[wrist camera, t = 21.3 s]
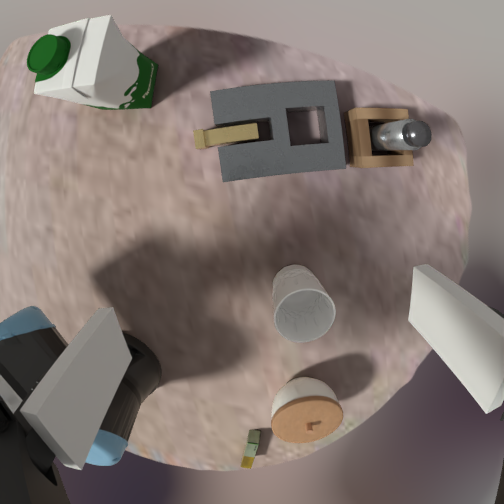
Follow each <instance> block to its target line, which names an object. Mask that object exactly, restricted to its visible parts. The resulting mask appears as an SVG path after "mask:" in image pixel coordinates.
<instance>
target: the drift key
mask: <svg viewBox="0 0 504 504" xmlns="http://www.w3.org/2000/svg"><path fill="white" fill-rule="evenodd" d="M193 132H194V139H195V146H196V149H200V150H201V149H207V148H209V147H210V146H216V145H223V144H229V143H236V142H243V141H251V140H258V139H259V136H258V129H257V123H253V124H245V125H238V126H231V127H224V128H218V129H212V130H206V131H205V130H203V129H200V130H194V131H193Z"/></svg>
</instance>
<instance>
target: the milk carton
mask: <svg viewBox="0 0 504 504" xmlns="http://www.w3.org/2000/svg"><path fill="white" fill-rule="evenodd" d="M27 66H28V69H29V70H30V71H32V72H35V73H37V76H36V80H35V82H36V85H35V89H34V94H39V95H44V96H49V97H54V98H59V99H63V100H67V101H71V102H75V103H79V104H83V105H87V106H91V107H95V108H99V109H104V110H117V109H139V108H151V105H152V99H153V92H154V86H155V80H156V75H157V69H158V64H156V63H155V62H154V61H152V60H151V59H149V58H148V57H146V56H144V55H143V54H142V53H141V52H139V51H138V50H137V49H136V48H135V47H134V46H133V45H132V44H130V43H129V42H128V41H127V40H126V39H125V38H124V37H123V36H122V34H121V32H120V30H119V28H118V27H117V25H116V23H115V21H114V19H113V17H112V15H107V16H102V17H97V18H92V19H91V18H86V19H82V20H79V21H75V22H72V23H68V24H65V25H61V26H58V27H55V28H51V29H50V30H49V32H48V35H45V36H43V37H41V38H40V39H39V40H37V41H36V43H35V44H34V45H33V46H32V48H31V50H30V52H29V54H28V58H27Z"/></svg>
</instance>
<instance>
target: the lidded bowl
mask: <svg viewBox="0 0 504 504" xmlns="http://www.w3.org/2000/svg"><path fill="white" fill-rule="evenodd" d="M271 416H272V421H271V426H272V431H273V433H274V434H275V435H276V436H277V437H278V438H280V439H281V440H284V441H287V442H292V443H306V442H312V441H316V440H319V439H321V438H324V437H326V436H328V435H329V434H331V433H332V432H333V431H335V430H336V429H337V428H338V427H339V425H340V424H341V422H342V419H343V411H342V408H341V406H340V404H339V402H338V399H337V397H336V395H335V393H334V392H333V391H332V389H331V388H330V387H329V386H328V385H327V384H326V383H324V382H322V381H320V380H318V379H314V378H310V377H298V378H295V379H293V380H291V381H289V382H288V383H287V384H285V385H284V386H283V387H282V388H281V389H280V390H279V391H278V393H277V394H276V396H275V398H274V400H273V404H272V411H271Z"/></svg>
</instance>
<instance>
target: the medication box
mask: <svg viewBox="0 0 504 504" xmlns="http://www.w3.org/2000/svg"><path fill="white" fill-rule="evenodd" d="M260 433H261V431H259V430H249V434H248V438H247V441H246V445H245V449H244V453H243V456H242V460H241V467H244V468H251V467H252V464H253V461H254V458H255V455H256V452H257V449H258V445H259V441H260Z"/></svg>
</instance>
